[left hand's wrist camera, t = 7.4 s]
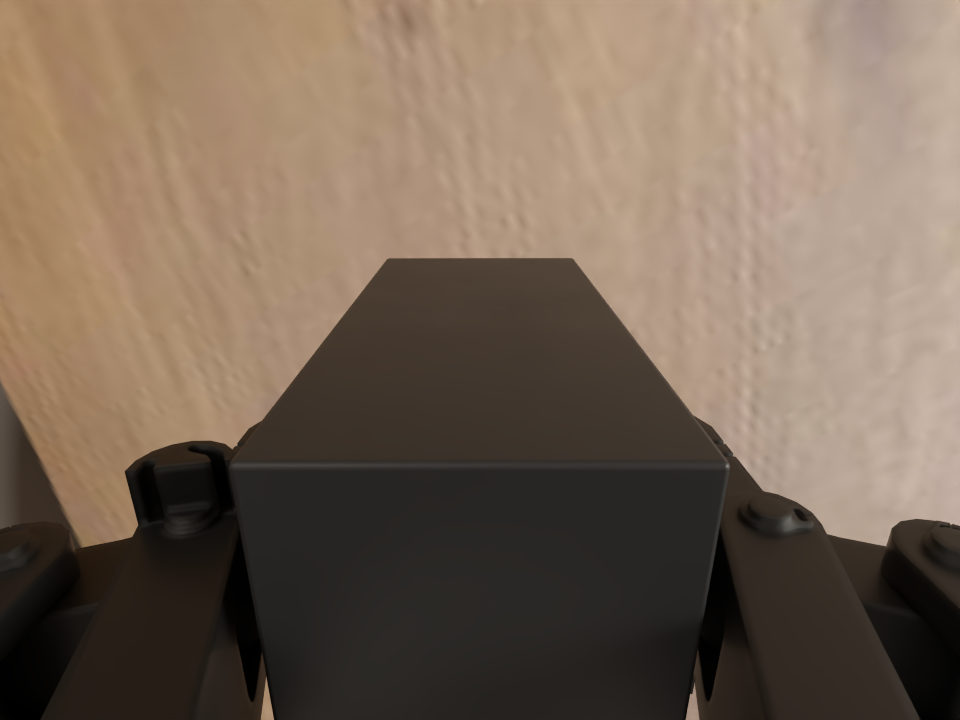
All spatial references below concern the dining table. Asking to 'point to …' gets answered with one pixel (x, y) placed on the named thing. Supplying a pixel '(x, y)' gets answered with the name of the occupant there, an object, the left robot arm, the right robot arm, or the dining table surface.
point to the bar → (479, 508)
